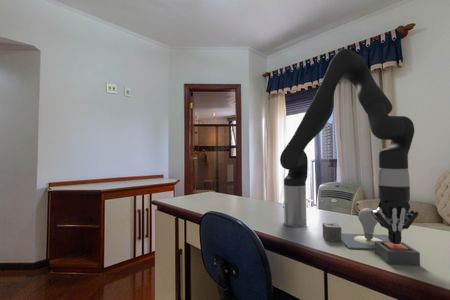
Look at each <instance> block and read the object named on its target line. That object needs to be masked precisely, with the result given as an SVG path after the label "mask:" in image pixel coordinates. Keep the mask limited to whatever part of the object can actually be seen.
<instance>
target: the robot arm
mask: <svg viewBox="0 0 450 300" xmlns="http://www.w3.org/2000/svg"><path fill="white" fill-rule="evenodd" d="M341 79H344V80H348V81H349V82H350V83H351V84H352V85H353V86H354V87H355V88H356V91H357V98H358V102H359V104H360V105H361V107H362V109H363V110H364V112H365V113H366V115H367V119H368V122H369V127H370V132H371V133H372V135H373V136H374V137H375V138H377V139H378V140H381V141H382V140H383V141H389V140H391V141H390V144H389V146H388V147H385V148H382V149H381V150H379V152H378V175H377V177H378V180H377V181H378V182H377V183H378V184H377V185H378V199H379V202H378V206H377V208H376V209H375V210H374V209H372V211H371V214H372V215H373V216H374V218H375V219H376V220H377V221H378V222H377V224H379V225H380V227H382V228H385V229H386V230H387V231H388V239H389V240H390V242H391V243H393V244H400V242H402V231H403V230H408V229H409V228H410V227H411V225H412V224H413V223H414V221H415V220H416V219H417V217H418V216H419V211H415V210H413V209H412V208H411V205H410V200H411V187H410V184H411V183H410V182H411V181H410V180H411V179H410V173H409V152H410V149H411V145H412V143H413V139H414V136H415V124H414V122H413V120H412V119H411V118H409V117H408V116H405V115H404V116H403V115H390V113H391V112H392V111H393V104H392V102H391V101H390V99H389V98H388V97H387V95H386V94H385V92H384V91H383V90H382V89H381V88H380V86H379V85H378V83H377V82H376V81H375V78H374V77H373V75H372V73H371V71H370V68H369V66H368V64H367V62H366V60H365V58H364V57H363V56H362V55H361V54H358V53H357V52H355V51H353V50H352V49H348V48H342V49H340V50H338V51H337V52H336V53H335V55H334V56H333V57H332V59H331V61H330V63H329V65H328V66H327V69H326V72H325V74H324V76H323V78H322V81H321V83H320V85H319V87H318V89H317V91H316V93H315V95H314V98H312V101H311V103H310V104H309V106H308V108H307V109H306V111H305V113H304V115H303V117H302V119H301V121H300V123H299V124H298V127H297V128H296V130H295V132H294V134H293V136H292V137H291V139H290V140H289V141H288V143H287V144H286V146H285V147H284V149H283V150H282V152H281V154H280V157H279V163H280V166H281V167H282V168H283V169H284V170H288V172H287V176H285V177H284V178H283V222H284V225H285V226H288V227H293V228H303V227H306V226H307V191H306V190H307V187H306V186H307V185H306V184H307V183H306V182H307V180H308V175H309V174H308V172H309V171H308V170H309V169H308V168H309V165H308V162H309V161H308V159H309V158H308V155H307V153H306V152H305V149H306V148H307V146H308V145H309V144H310V142H311V141H312V140H314V138H315V137H317V136H318V135H319V133H321V131H323V129H325V127H326V125H327V124H328V122H329V120H330V118H331V116H332V115H333V112H334V108H335V107H334V106H335V105H334V104H335V92H336V89H337V86H338V84H339V82H340V80H341Z"/></svg>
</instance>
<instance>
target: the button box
mask: <svg viewBox="0 0 450 300" xmlns="http://www.w3.org/2000/svg"><path fill="white" fill-rule="evenodd" d="M384 242H388V241H374V245H375V250H374V253H375V254H376V255H377V256H378V257H379V258H381V259H382V260H383V261H384V262H385V263H386V262H387V263H386V264H388V265H398V266H403V265H404V266H420V265H421V254H420V251H418V250H416V249H414V248H413V247H411V246H409V245H408V244H406V243H405V242H403V241H401V242H400V244H402V245H404V246H405V247H407V248H408V251H400V250H389V249H388V248H386V247H385V246H384ZM389 243H391V242H389Z"/></svg>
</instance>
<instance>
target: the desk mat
mask: <svg viewBox="0 0 450 300" xmlns="http://www.w3.org/2000/svg"><path fill="white" fill-rule="evenodd" d="M374 241H388V242H390V240H389V239H388V235H387V234H379V233H378V234H374V233H373V239H371V240H367V239H366V238H365V236H364V233H345V232H344V233H342V232H341V241H340V242H341V243H342V244H343V245H344V246H345V247H346V248H347V249H349V250H365V251H366V250H367V251H369V250H371V251H375V245H374Z"/></svg>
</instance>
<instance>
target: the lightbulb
mask: <svg viewBox="0 0 450 300" xmlns="http://www.w3.org/2000/svg"><path fill="white" fill-rule="evenodd" d="M372 210H373V209H372V208H369V207H365V208H362V209H360V211H358V215H357V217H358V221H359V223H360V224H361V225H362V231H363V234H364V236H365V238H366V239H367V240H371V239H373V234H374V233H375V228H376V225H377V224H378V221H377V220H376V219H375V218H374V216H373V215H372V214H371V211H372Z"/></svg>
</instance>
